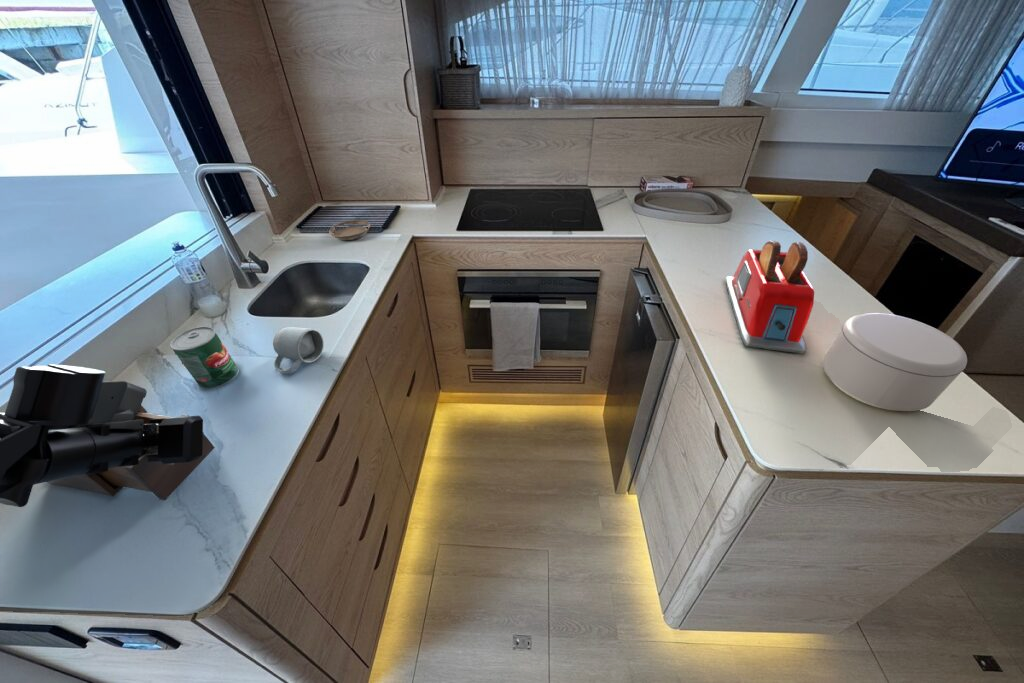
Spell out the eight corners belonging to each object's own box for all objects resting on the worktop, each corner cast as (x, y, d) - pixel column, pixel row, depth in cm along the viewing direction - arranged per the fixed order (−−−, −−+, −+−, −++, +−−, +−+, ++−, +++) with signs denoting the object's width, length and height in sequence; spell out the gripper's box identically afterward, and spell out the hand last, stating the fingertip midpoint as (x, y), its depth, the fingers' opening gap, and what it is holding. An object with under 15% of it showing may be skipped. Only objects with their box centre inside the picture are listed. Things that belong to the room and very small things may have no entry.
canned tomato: (239, 380, 86) (214, 341, 79) (197, 394, 83) (167, 355, 76) (238, 360, 91) (214, 322, 85) (199, 372, 88) (171, 334, 82)
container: (798, 362, 85) (823, 318, 78) (865, 347, 88) (895, 303, 81) (878, 425, 71) (917, 379, 64) (954, 405, 74) (1000, 358, 67)
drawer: (236, 450, 70) (211, 418, 65) (189, 505, 62) (156, 473, 57) (157, 438, 73) (127, 405, 68) (102, 488, 65) (63, 456, 60)
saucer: (333, 245, 140) (330, 238, 139) (329, 231, 151) (327, 224, 149) (374, 237, 145) (373, 230, 143) (368, 224, 156) (367, 217, 154)
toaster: (806, 355, 87) (849, 281, 75) (743, 347, 90) (774, 274, 78) (773, 284, 111) (801, 219, 99) (724, 279, 114) (746, 215, 102)
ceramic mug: (300, 343, 96) (287, 318, 91) (328, 348, 94) (317, 323, 89) (268, 373, 88) (252, 346, 83) (298, 379, 86) (283, 352, 81)
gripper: (152, 380, 48) (238, 380, 64) (-3, 390, 48) (121, 388, 64) (149, 472, 47) (237, 450, 63) (-9, 483, 47) (119, 458, 62)
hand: (179, 434), depth 63 cm, fingers closed, pressing on drawer
